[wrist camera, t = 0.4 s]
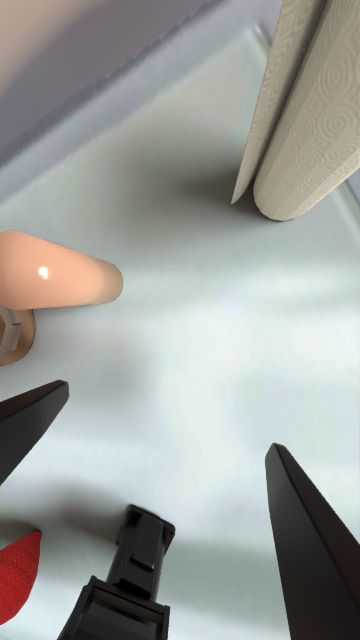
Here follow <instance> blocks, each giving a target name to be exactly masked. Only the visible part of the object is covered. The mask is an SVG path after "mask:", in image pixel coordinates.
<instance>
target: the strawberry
mask: <svg viewBox="0 0 360 640" xmlns="http://www.w3.org/2000/svg"><path fill="white" fill-rule="evenodd" d="M40 540H41V534H40V532H38V531H34V532H32V533H30V534H29V535H27V536H25V537H23V538H21V539H19V540H17V541H15V542H13V543H12V544H10V545H8V546H7V547H5V548H4V549H2V550H1V551H0V625H2V624H4V623H5V622H7V621H8V620H10V619H12V618H13V617H14V616H15V615H16V614H17V613H18V612H19V610H20V609H21V608H22V606H23V605H24V604H25V602H26V601H27V599H28V597H29V595H30V592H31V589H32V587H33V584H34V582H35V579H36V576H37V571H38V563H39V556H40Z"/></svg>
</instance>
